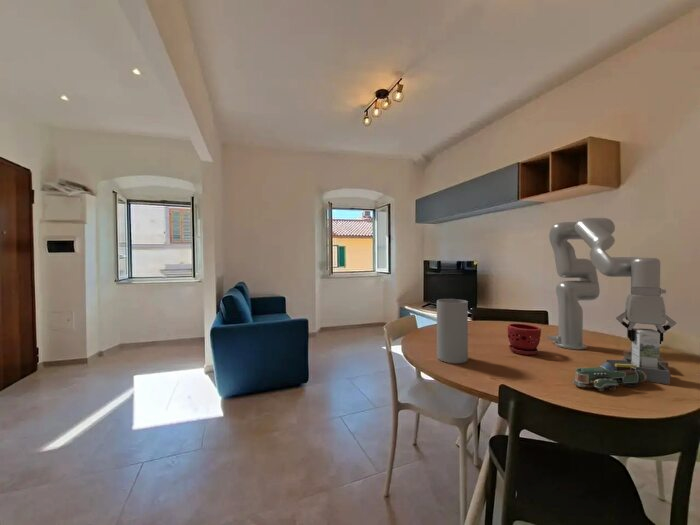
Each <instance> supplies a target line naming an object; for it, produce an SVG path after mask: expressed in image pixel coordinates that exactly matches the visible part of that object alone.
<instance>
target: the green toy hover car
mask: <svg viewBox="0 0 700 525" xmlns="http://www.w3.org/2000/svg"><path fill="white" fill-rule="evenodd" d="M632 365H634V364H632ZM632 365H631V367H632ZM634 366H635V365H634ZM632 368H633V367H632ZM634 369H635V370H621V371H615V370H616V369H614V368H613V367H612V366H611V364H610V363H608V362H607V361H606V362H604V363H602V364H601V365H599V366H593V367H578V368H577V369H576V370H575V372H574V373H575V375H574V377H575V379H574V380H573V381H572V382H573V384H574V385H575V386H576V388H578V389H582V390H585V387H587V385H589V384H591V383H593V385H592V386H591V387H587V389H588V390H590V389H593V388H594V387H595V388H597V390H598V391H600V392H604V391H605V388H609V389H610V391H616V389H617V386H621V385H623V387H626V388H628V387H632V388H634V387H636V386H639V385H638V383H639V382H645V381H644V380H646V379H647V375H646V374H645V373H644V372H642V371H640V370H636V366H635V368H634Z"/></svg>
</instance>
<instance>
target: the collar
mask: <svg viewBox="0 0 700 525" xmlns="http://www.w3.org/2000/svg"><path fill="white" fill-rule="evenodd" d="M659 357H660V358H659V363H661V364H662V365H663V366H664V367H665V368H666V369H668V370H669V362H668V361H667V360H666V359H664V358H663V357H661V355H660V356H659ZM623 358H628V359H631V351H629V350H628V351H627V350H623Z"/></svg>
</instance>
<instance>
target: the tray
mask: <svg viewBox="0 0 700 525" xmlns="http://www.w3.org/2000/svg"><path fill="white" fill-rule="evenodd" d="M621 360H625V361H628V362H630V363H631V359H628V358H624V357H622V359H621ZM636 370H640V371H642V372H644V373H645V374H646V375H647V379H646V380H644V381H643V382H648V381H649V383H655V382H656V383H657V384H661V383H662V385H663V384H664V385H668V386H669V385H671V371H670V370H669V368H668V369H666V368H665V367H664V366H663V365H662V364H661V363H659V370H658V369H651V368H643V367H637V368H636Z"/></svg>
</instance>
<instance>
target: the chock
mask: <svg viewBox="0 0 700 525" xmlns="http://www.w3.org/2000/svg"><path fill="white" fill-rule="evenodd" d="M606 362H608V363H610V364H611V366H612V367H613V368H614V369H616V370H615V371H621V370H635V369H634V368H635V366H636V368H637V365H635V364H634V365H635V366H634V365H632V363H630V362H628V361H625V360H622V359H621V360H619V359H606ZM631 365H632V367H633V368H632V367H631Z"/></svg>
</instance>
